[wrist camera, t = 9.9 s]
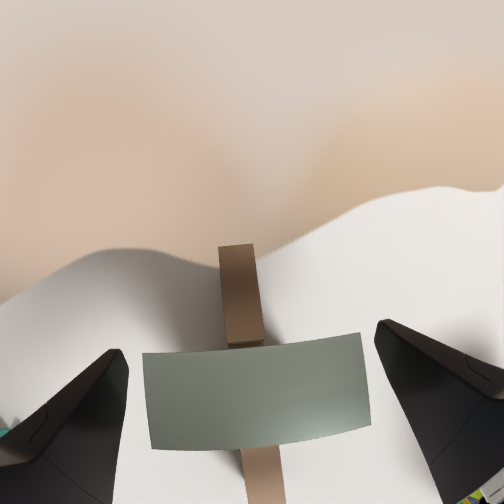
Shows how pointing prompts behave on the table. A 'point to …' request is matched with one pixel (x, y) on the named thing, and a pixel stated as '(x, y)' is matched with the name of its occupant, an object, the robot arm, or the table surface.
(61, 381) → the table surface
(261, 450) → the brown wooden stepped piece
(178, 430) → the sage slab
